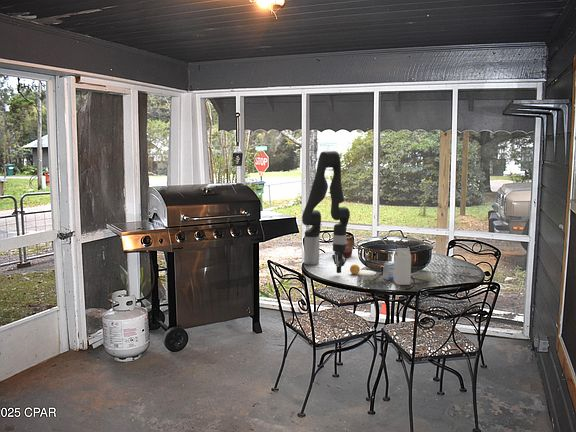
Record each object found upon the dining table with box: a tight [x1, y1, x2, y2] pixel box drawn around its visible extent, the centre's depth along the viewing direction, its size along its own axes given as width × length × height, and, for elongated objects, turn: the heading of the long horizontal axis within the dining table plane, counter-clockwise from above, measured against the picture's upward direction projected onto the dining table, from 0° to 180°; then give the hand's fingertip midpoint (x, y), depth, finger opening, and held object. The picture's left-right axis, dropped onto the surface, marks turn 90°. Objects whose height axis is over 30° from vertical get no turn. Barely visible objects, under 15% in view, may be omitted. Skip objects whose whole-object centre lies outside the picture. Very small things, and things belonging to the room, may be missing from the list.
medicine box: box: [382, 262, 394, 281], centre depth 276 cm, size 8×4×9 cm, turn 117°
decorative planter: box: [344, 234, 355, 258], centre depth 334 cm, size 20×12×14 cm, turn 159°
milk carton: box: [392, 247, 412, 286], centre depth 266 cm, size 7×7×19 cm
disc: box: [356, 269, 377, 277], centre depth 289 cm, size 13×13×1 cm
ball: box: [349, 264, 361, 275], centre depth 285 cm, size 6×6×6 cm
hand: (338, 272), depth 282 cm, fingers closed
